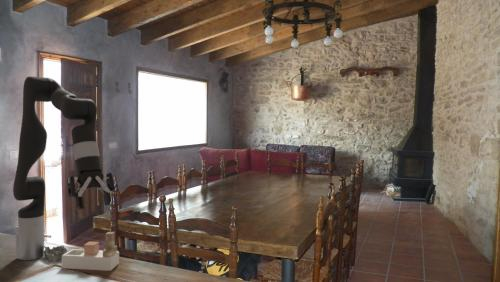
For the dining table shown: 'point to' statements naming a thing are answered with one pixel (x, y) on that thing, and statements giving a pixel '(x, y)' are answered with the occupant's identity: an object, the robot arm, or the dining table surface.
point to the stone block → (91, 248)
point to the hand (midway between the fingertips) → (94, 207)
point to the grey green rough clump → (55, 253)
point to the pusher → (110, 245)
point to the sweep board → (89, 260)
